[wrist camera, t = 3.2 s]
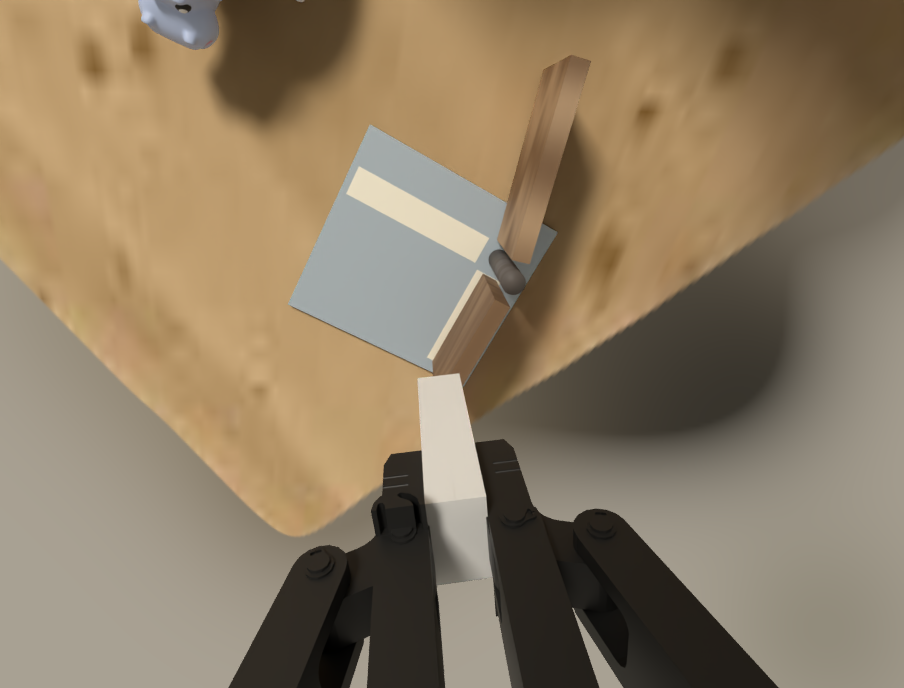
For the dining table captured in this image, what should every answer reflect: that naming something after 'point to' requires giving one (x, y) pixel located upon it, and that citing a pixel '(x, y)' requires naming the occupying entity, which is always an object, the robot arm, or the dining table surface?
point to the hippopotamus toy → (183, 20)
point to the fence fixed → (479, 318)
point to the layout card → (404, 251)
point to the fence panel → (541, 156)
